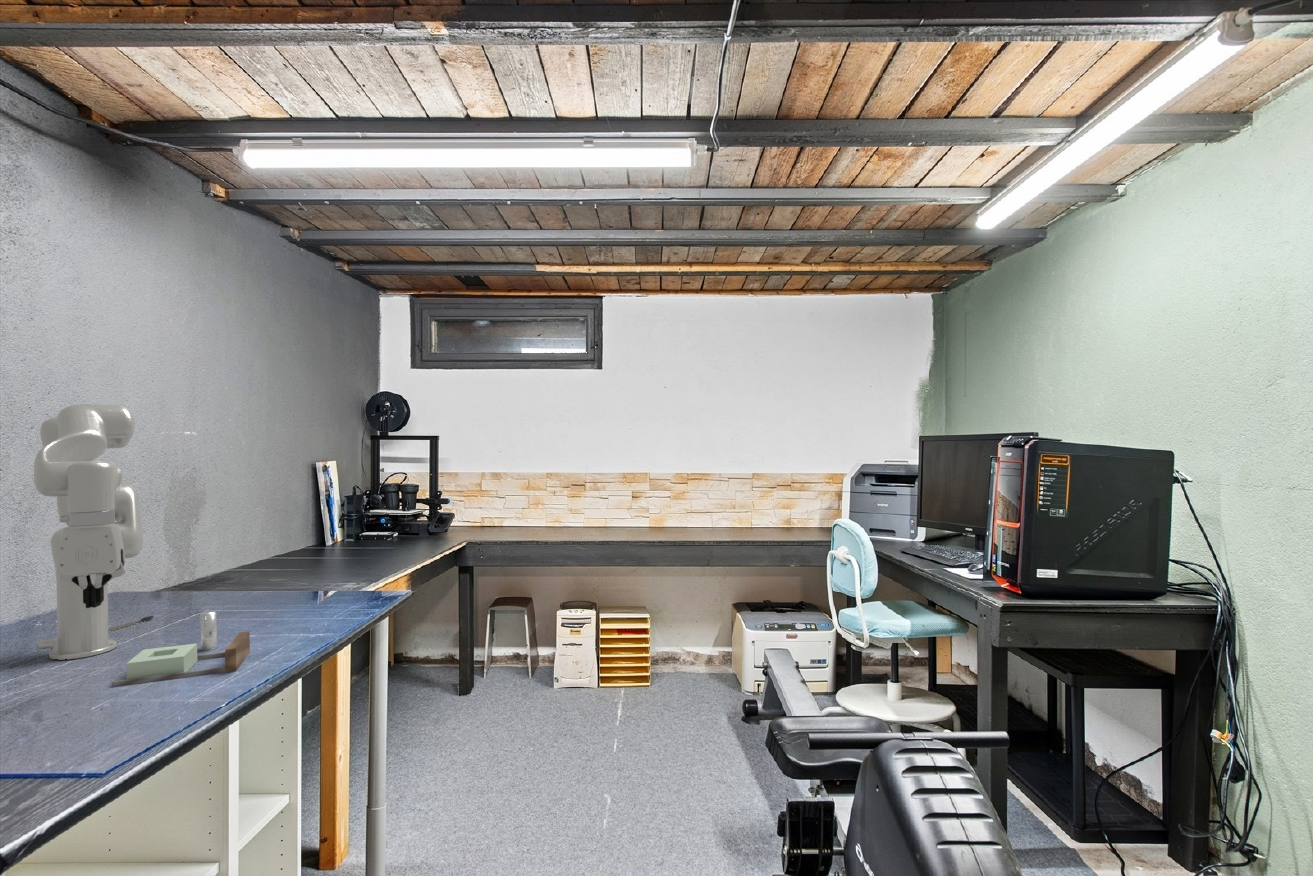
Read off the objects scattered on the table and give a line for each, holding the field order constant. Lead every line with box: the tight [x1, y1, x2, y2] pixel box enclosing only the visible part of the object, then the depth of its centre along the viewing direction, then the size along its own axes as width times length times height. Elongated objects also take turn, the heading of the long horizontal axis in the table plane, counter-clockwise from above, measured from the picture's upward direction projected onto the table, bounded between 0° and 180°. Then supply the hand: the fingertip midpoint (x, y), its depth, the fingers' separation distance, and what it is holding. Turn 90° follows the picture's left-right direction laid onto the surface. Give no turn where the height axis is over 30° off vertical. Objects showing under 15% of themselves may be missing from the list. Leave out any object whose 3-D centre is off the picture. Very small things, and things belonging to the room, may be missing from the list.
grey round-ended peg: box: [199, 610, 218, 652], centre depth 158 cm, size 3×3×10 cm
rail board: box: [111, 631, 251, 688], centre depth 143 cm, size 26×14×6 cm, turn 112°
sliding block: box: [125, 643, 198, 679], centre depth 142 cm, size 10×10×4 cm
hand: (93, 606), depth 138 cm, fingers closed
